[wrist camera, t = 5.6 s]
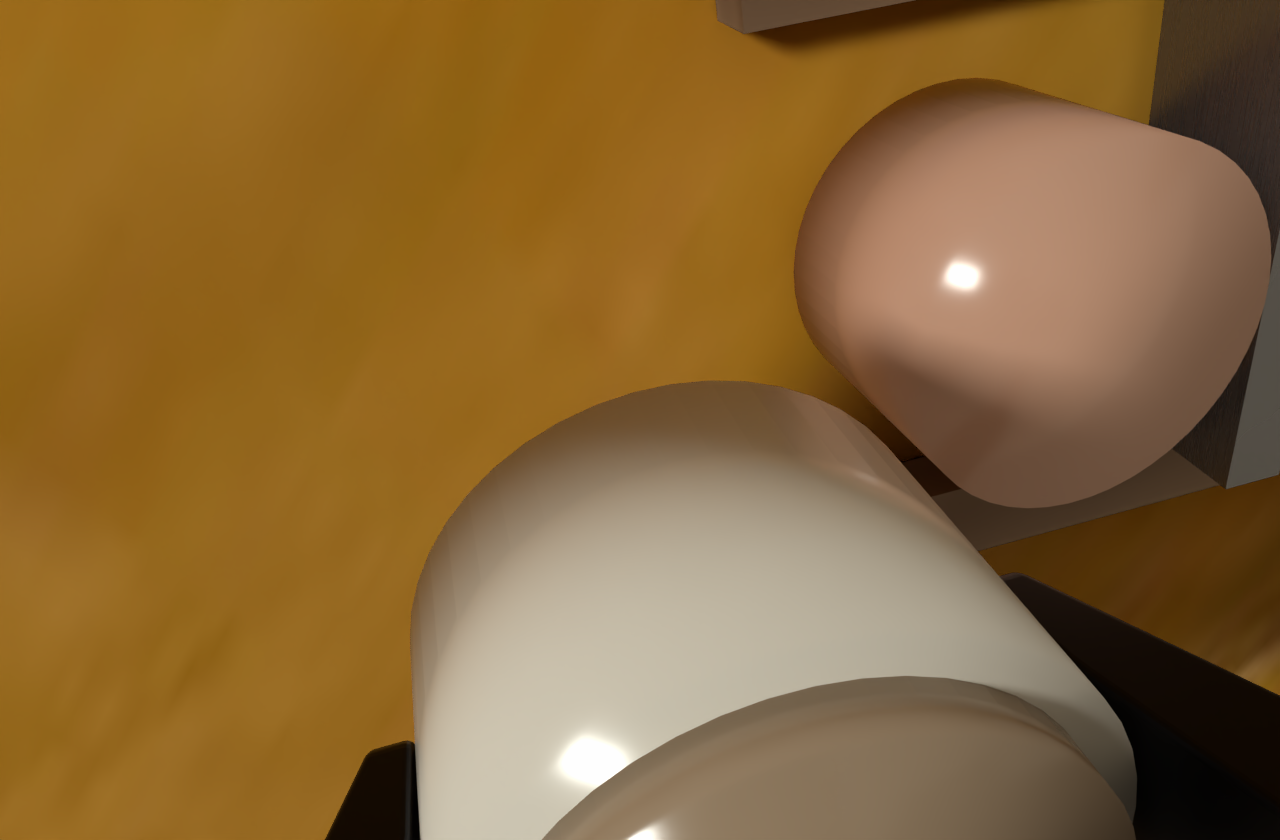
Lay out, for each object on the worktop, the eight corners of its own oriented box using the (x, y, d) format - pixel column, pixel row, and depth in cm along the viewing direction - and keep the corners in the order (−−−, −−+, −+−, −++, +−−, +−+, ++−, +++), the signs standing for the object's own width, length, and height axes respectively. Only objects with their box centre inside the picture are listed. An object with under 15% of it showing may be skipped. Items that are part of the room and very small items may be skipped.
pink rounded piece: (1097, 316, 19) (1268, 414, 15) (834, 436, 18) (949, 564, 15) (1071, 23, 16) (1274, 64, 12) (757, 160, 15) (878, 241, 12)
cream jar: (930, 716, 12) (1146, 1049, 9) (490, 859, 12) (539, 1275, 8) (917, 314, 9) (1229, 579, 6) (329, 475, 9) (303, 876, 5)
